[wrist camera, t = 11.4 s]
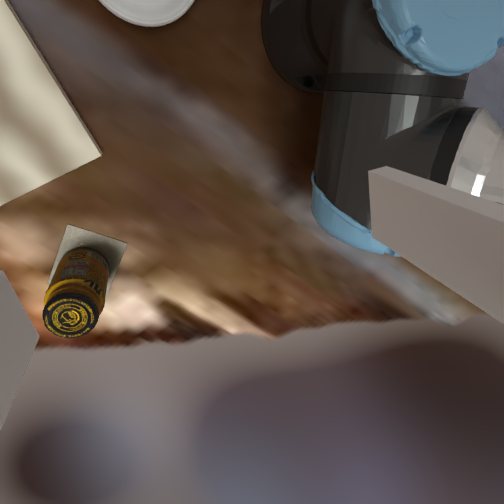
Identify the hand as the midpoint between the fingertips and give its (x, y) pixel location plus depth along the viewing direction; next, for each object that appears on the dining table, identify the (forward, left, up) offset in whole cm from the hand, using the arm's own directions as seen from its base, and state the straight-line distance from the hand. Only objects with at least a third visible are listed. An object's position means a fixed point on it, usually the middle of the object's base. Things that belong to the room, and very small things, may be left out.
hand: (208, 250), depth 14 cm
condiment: (+15, +10, -36) cm, 40 cm away
